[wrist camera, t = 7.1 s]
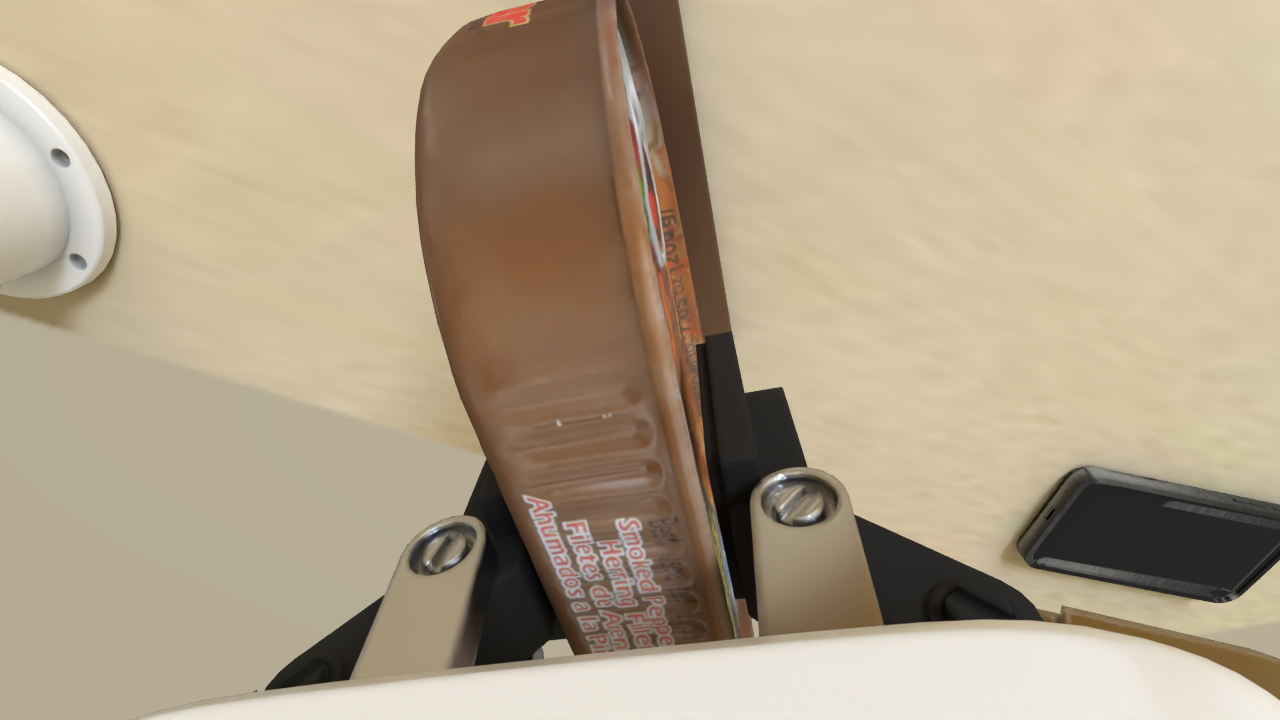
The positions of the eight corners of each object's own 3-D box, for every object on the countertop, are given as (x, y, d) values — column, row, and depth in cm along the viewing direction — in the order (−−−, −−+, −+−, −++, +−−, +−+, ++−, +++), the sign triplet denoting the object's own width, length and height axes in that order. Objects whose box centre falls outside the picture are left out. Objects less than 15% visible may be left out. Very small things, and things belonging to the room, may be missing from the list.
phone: (1229, 605, 40) (1019, 565, 39) (1216, 591, 41) (1010, 552, 40) (1321, 521, 36) (1089, 474, 35) (1304, 508, 37) (1077, 461, 36)
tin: (740, 535, 19) (816, 859, 12) (642, 552, 19) (655, 880, 12) (636, -15, 12) (660, -91, 4) (482, 25, 12) (259, 18, 5)
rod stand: (610, 361, 34) (594, 446, 27) (517, 28, 26) (463, 32, 19) (732, 341, 33) (748, 423, 26) (675, -12, 25) (677, -23, 18)
